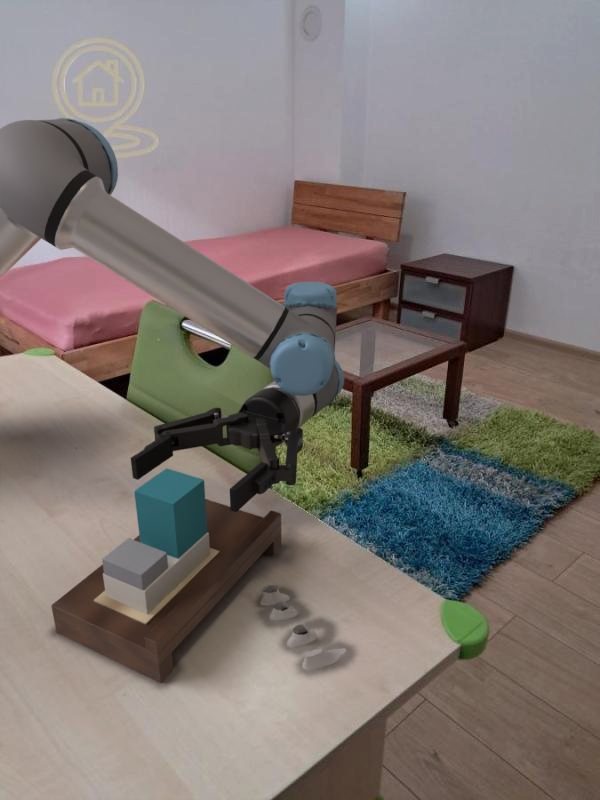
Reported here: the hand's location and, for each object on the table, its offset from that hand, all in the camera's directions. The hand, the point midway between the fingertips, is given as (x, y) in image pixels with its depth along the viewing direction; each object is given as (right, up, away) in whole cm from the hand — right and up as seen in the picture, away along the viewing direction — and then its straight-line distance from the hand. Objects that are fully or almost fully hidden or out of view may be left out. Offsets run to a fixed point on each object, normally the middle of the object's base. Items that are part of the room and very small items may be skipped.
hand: (181, 484), depth 70 cm
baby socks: (+13, -16, -2) cm, 21 cm away
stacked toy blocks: (-2, -10, 0) cm, 10 cm away
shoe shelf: (-1, -13, +4) cm, 14 cm away
